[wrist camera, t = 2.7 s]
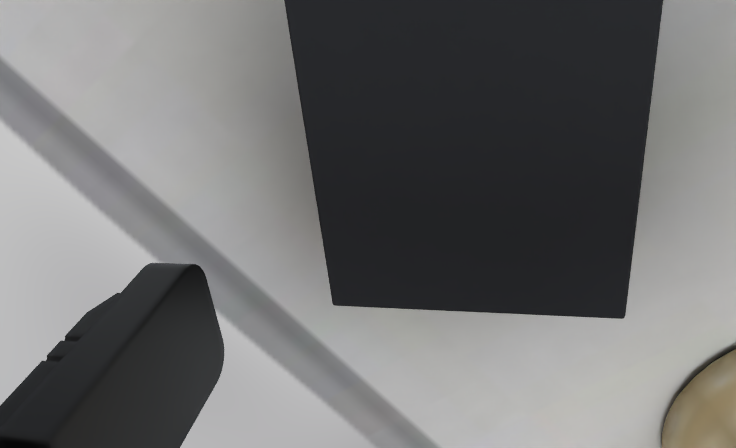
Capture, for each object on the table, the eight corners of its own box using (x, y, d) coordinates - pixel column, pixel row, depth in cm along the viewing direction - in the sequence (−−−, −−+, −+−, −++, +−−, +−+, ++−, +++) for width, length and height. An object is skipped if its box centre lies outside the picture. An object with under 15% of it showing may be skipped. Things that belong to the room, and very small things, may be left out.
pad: (361, 234, 17) (332, 306, 14) (302, -239, 12) (241, -260, 9) (608, 240, 15) (625, 320, 13) (660, -294, 10) (704, -337, 8)
